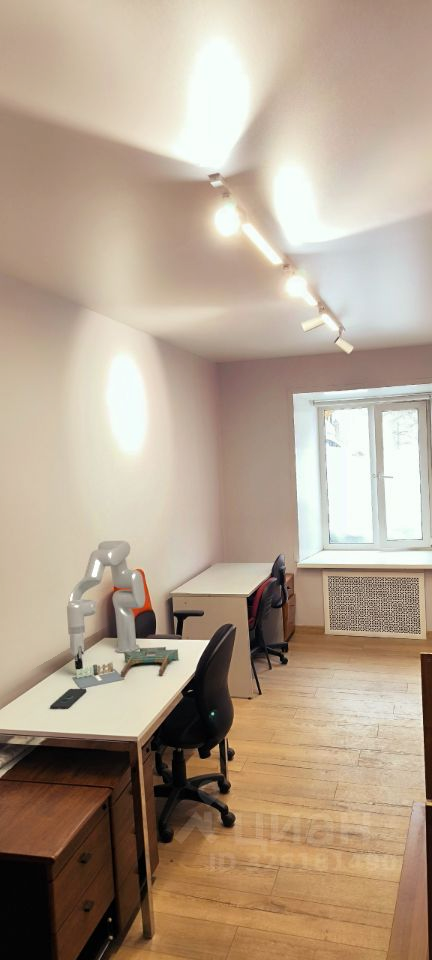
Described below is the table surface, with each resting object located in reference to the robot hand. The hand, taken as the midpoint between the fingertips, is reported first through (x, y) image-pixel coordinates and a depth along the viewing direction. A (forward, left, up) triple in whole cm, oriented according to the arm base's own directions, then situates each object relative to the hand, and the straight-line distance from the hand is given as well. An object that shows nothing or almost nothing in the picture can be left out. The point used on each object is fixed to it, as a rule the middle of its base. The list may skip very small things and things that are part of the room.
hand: (79, 668), depth 294 cm
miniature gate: (+7, +31, -3) cm, 32 cm away
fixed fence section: (+6, +10, -3) cm, 12 cm away
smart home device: (+29, -11, -4) cm, 32 cm away
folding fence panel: (+6, +1, -2) cm, 6 cm away
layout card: (+10, +6, -3) cm, 12 cm away
